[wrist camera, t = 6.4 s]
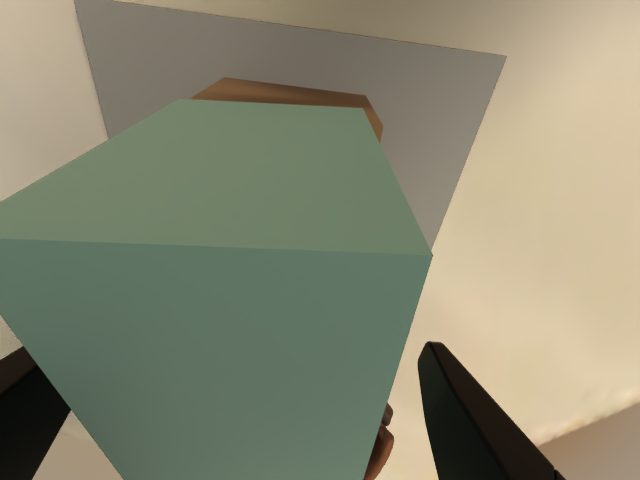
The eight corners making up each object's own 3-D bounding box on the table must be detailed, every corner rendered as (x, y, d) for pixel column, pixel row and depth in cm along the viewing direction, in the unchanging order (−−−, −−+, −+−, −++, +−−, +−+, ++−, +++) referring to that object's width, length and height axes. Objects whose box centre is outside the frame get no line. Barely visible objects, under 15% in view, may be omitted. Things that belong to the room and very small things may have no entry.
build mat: (501, 55, 11) (507, 56, 11) (398, 324, 19) (400, 330, 19) (80, -5, 10) (72, -5, 10) (155, 305, 18) (152, 310, 18)
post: (365, 95, 12) (383, 126, 8) (343, 215, 14) (350, 274, 11) (223, 77, 11) (183, 101, 8) (229, 203, 14) (202, 261, 11)
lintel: (179, 98, 8) (-59, 236, 3) (362, 108, 8) (432, 254, 3) (229, 367, 14) (181, 556, 9) (331, 370, 14) (338, 557, 9)
